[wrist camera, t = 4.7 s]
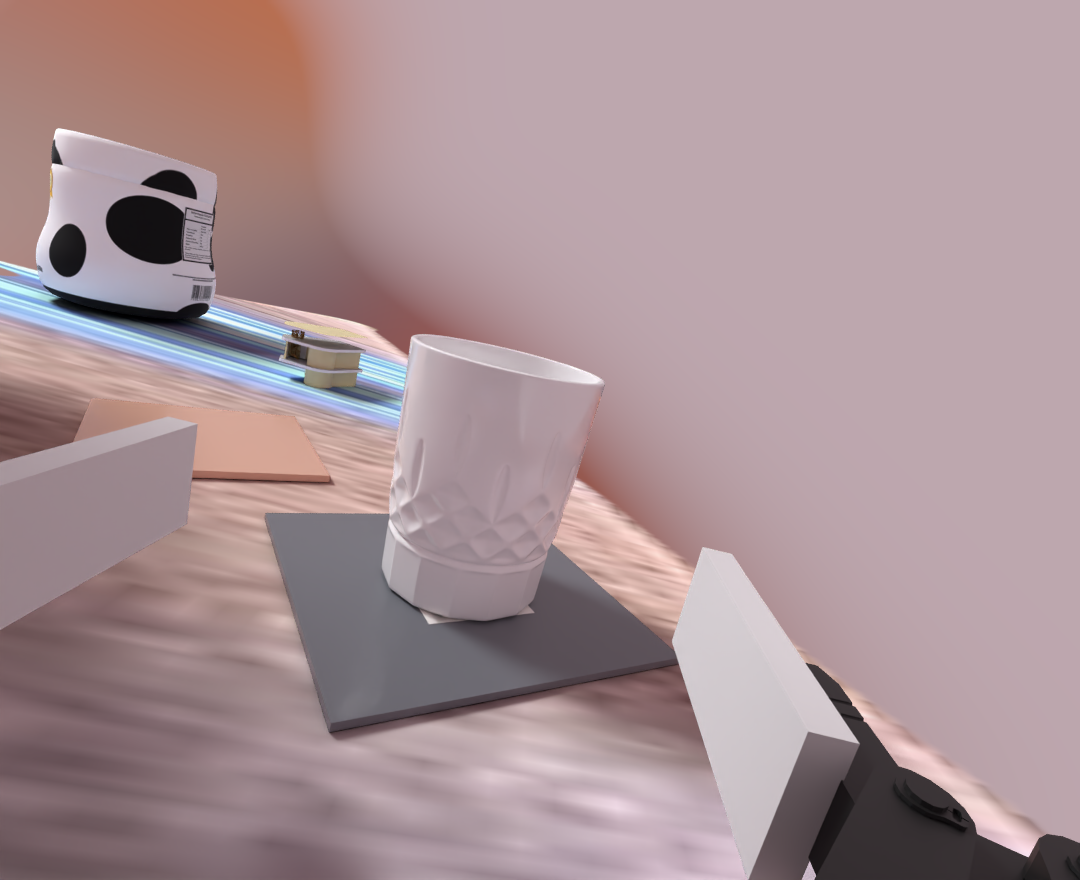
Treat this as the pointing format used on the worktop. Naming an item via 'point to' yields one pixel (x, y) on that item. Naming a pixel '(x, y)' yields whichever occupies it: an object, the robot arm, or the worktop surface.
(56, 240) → the milk container
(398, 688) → the tile
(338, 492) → the worktop surface
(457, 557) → the white cup
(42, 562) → the robot arm
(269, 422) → the coaster
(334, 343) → the stacked layers on plate
